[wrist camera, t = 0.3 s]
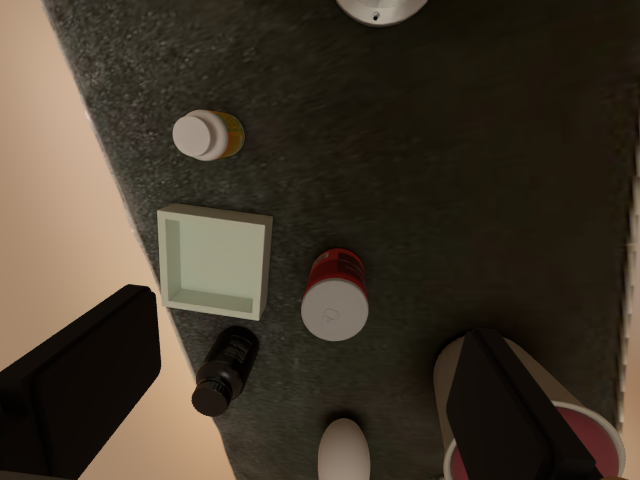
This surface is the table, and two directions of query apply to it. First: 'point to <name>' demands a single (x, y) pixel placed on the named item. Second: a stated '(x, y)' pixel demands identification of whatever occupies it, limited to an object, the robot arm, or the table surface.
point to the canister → (581, 419)
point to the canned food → (335, 296)
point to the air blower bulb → (343, 452)
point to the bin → (214, 260)
